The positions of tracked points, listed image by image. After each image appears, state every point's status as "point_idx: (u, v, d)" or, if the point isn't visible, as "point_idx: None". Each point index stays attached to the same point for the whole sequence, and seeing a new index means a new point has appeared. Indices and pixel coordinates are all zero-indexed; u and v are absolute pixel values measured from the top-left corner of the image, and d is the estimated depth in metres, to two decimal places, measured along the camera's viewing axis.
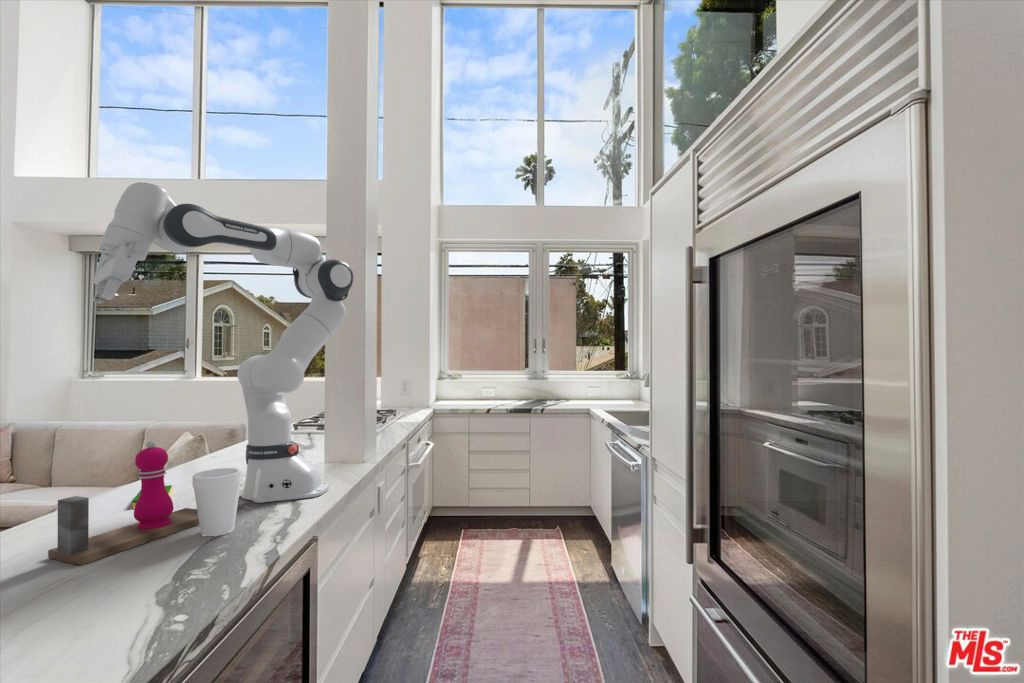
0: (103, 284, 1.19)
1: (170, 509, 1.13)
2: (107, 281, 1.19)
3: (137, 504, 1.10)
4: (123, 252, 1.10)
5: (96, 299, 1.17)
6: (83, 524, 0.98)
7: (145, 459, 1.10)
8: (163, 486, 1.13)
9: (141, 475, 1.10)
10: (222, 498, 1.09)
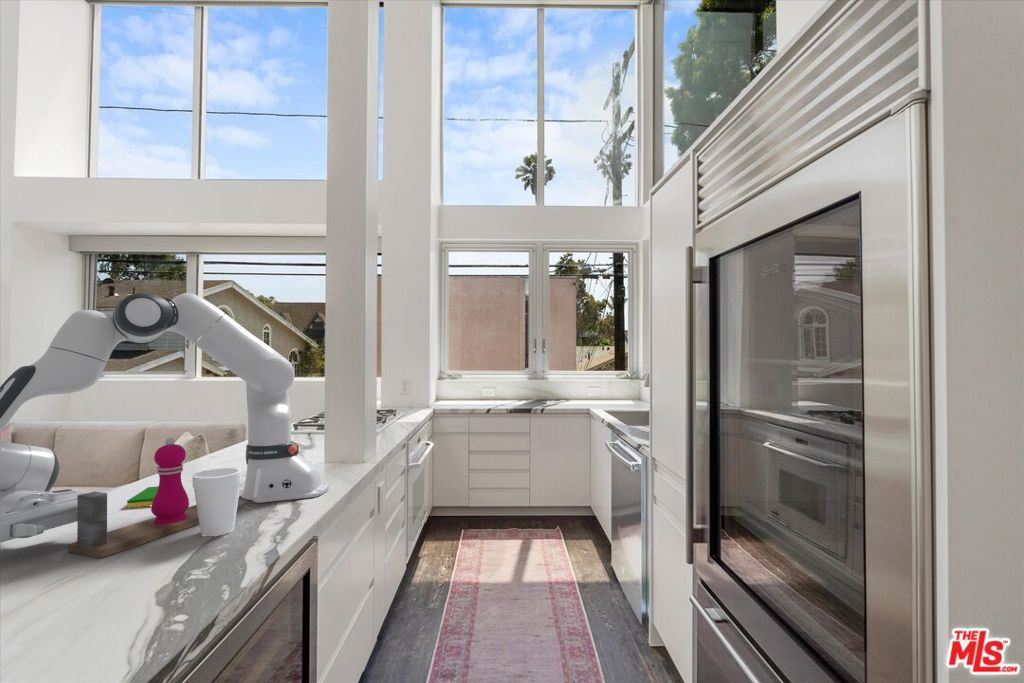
0: None
1: (186, 504, 1.16)
2: (75, 512, 1.05)
3: (155, 499, 1.13)
4: None
5: None
6: (102, 519, 1.01)
7: (164, 456, 1.13)
8: (180, 482, 1.16)
9: (160, 471, 1.14)
10: (222, 498, 1.09)
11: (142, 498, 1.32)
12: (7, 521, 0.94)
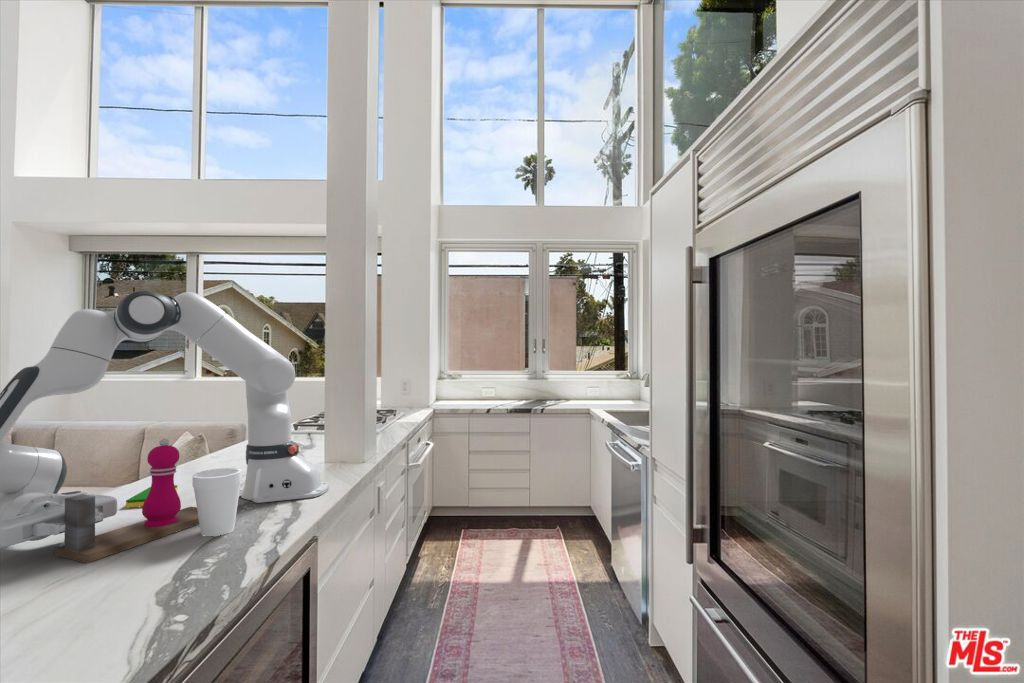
0: None
1: (178, 507, 1.14)
2: None
3: (146, 501, 1.12)
4: None
5: None
6: (90, 522, 0.99)
7: (157, 456, 1.12)
8: (172, 484, 1.15)
9: (152, 472, 1.12)
10: (222, 498, 1.09)
11: (141, 498, 1.32)
12: (19, 523, 0.94)
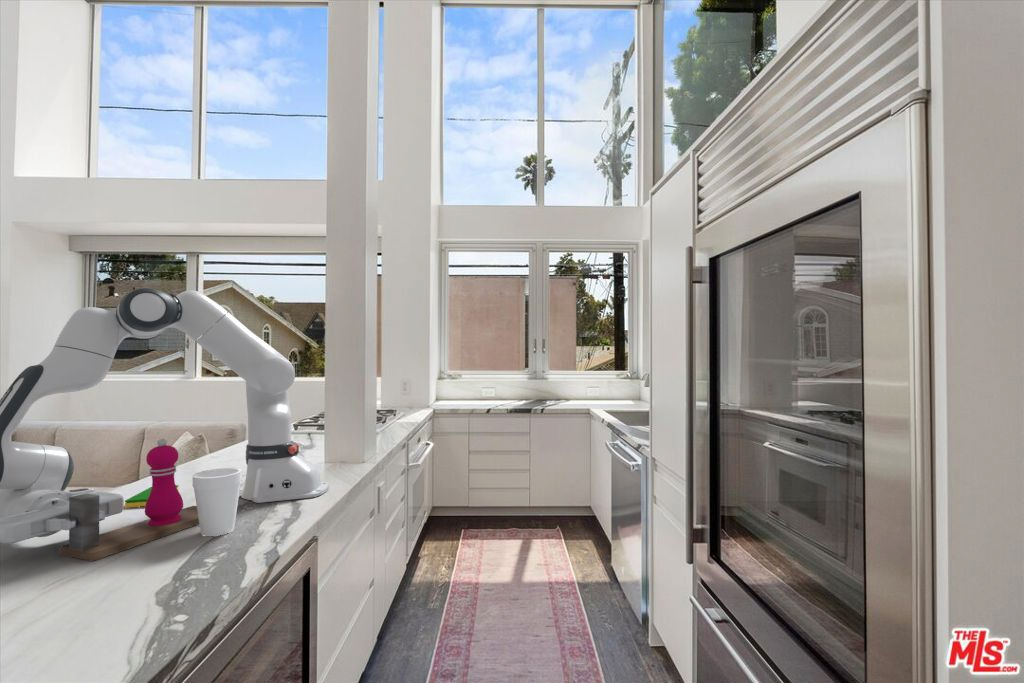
0: None
1: (180, 506, 1.15)
2: None
3: (148, 501, 1.12)
4: None
5: None
6: (94, 521, 1.00)
7: (156, 457, 1.12)
8: (173, 483, 1.15)
9: (152, 473, 1.12)
10: (222, 498, 1.09)
11: (140, 498, 1.32)
12: (27, 520, 0.95)
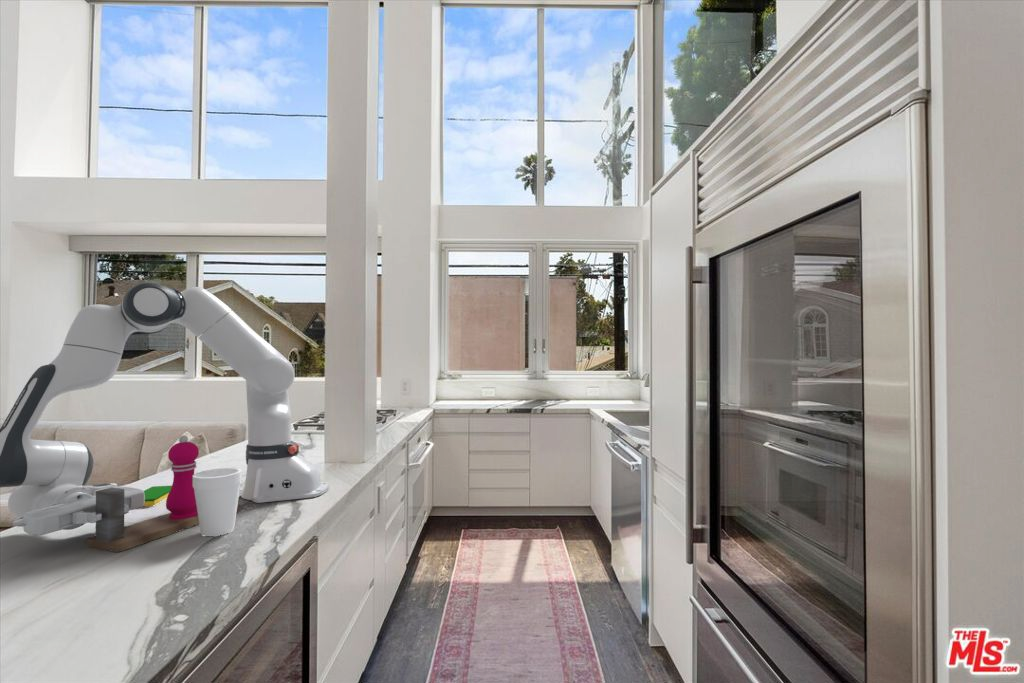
0: None
1: None
2: None
3: (169, 495, 1.16)
4: (24, 529, 0.98)
5: None
6: (119, 514, 1.04)
7: (178, 453, 1.16)
8: None
9: (174, 468, 1.17)
10: (222, 498, 1.09)
11: None
12: (56, 512, 0.99)
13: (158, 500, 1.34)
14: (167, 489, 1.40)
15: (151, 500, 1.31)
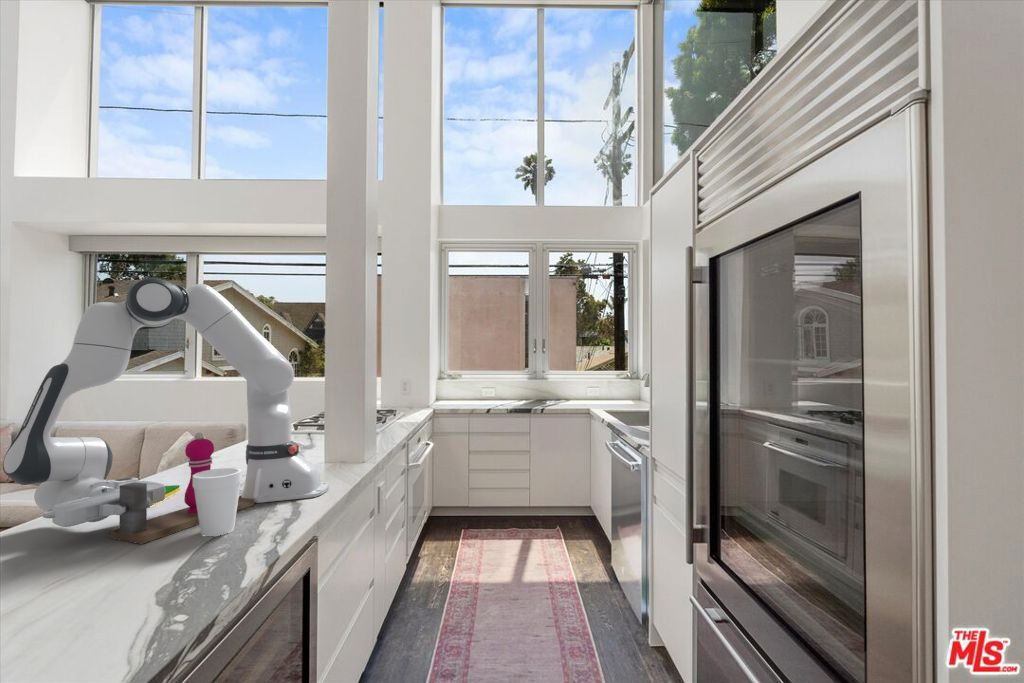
0: None
1: None
2: None
3: (188, 490, 1.21)
4: (53, 521, 1.03)
5: None
6: (142, 507, 1.08)
7: (195, 449, 1.20)
8: None
9: (191, 464, 1.21)
10: (222, 498, 1.09)
11: None
12: (83, 505, 1.04)
13: None
14: (167, 489, 1.40)
15: None
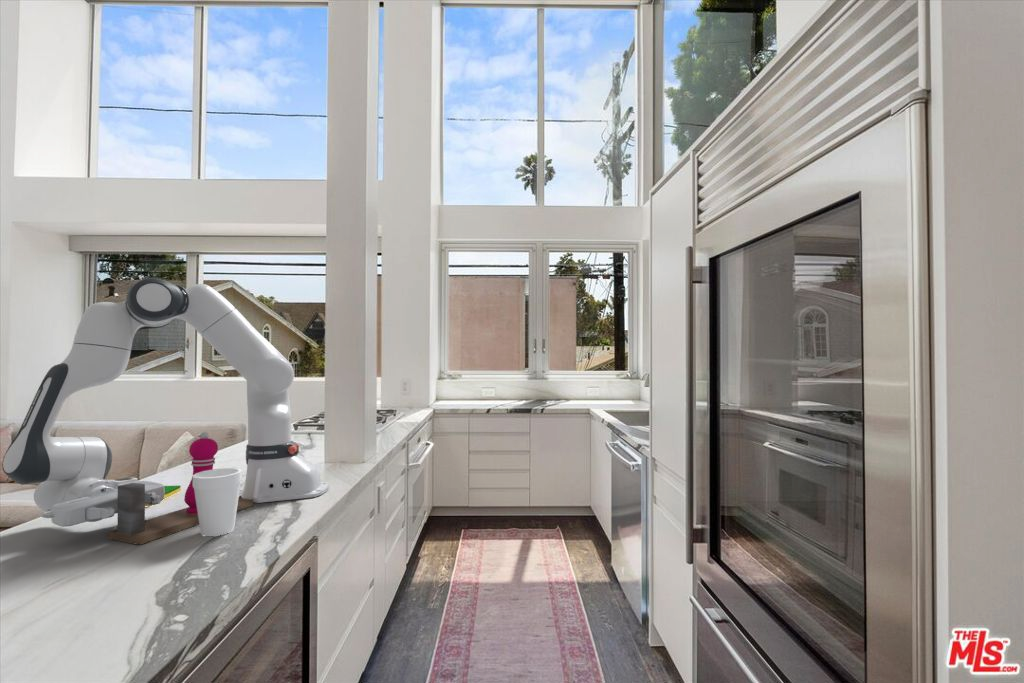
0: (145, 499, 1.15)
1: None
2: None
3: (188, 489, 1.21)
4: (52, 521, 1.03)
5: (152, 503, 1.12)
6: (140, 508, 1.08)
7: (199, 448, 1.21)
8: None
9: (194, 463, 1.21)
10: (222, 498, 1.09)
11: None
12: (82, 505, 1.04)
13: None
14: (167, 489, 1.40)
15: None
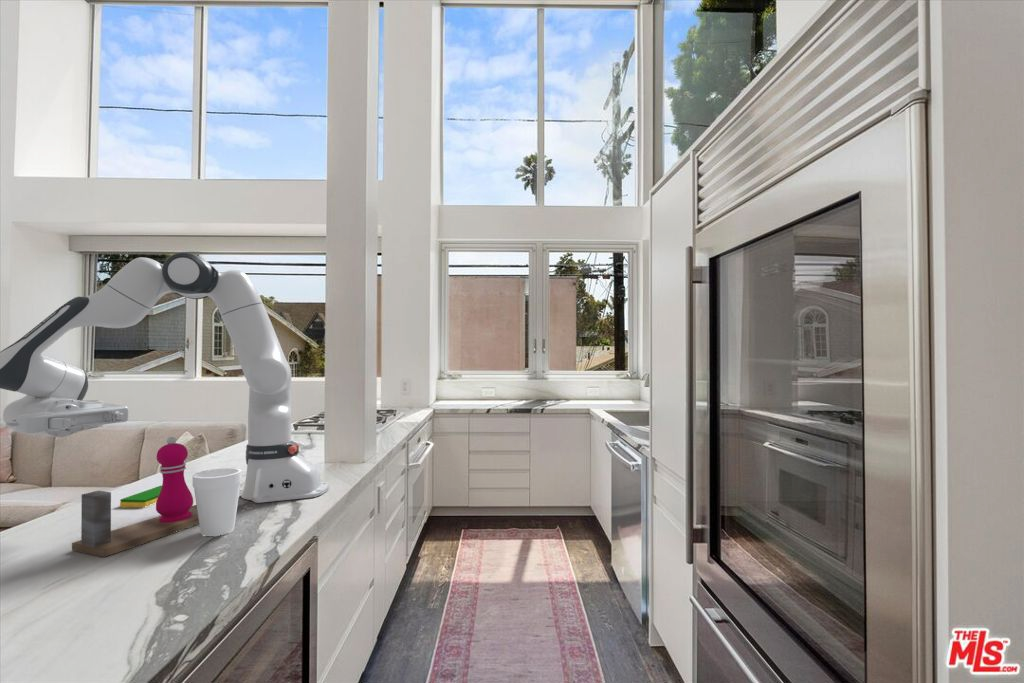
0: (109, 417, 1.20)
1: (190, 502, 1.17)
2: (103, 416, 1.19)
3: (159, 498, 1.15)
4: (16, 429, 1.08)
5: (115, 419, 1.17)
6: (106, 518, 1.02)
7: (167, 455, 1.14)
8: (183, 480, 1.18)
9: (163, 470, 1.15)
10: (222, 498, 1.09)
11: (133, 498, 1.32)
12: (46, 414, 1.09)
13: (151, 501, 1.33)
14: None
15: (142, 501, 1.31)
